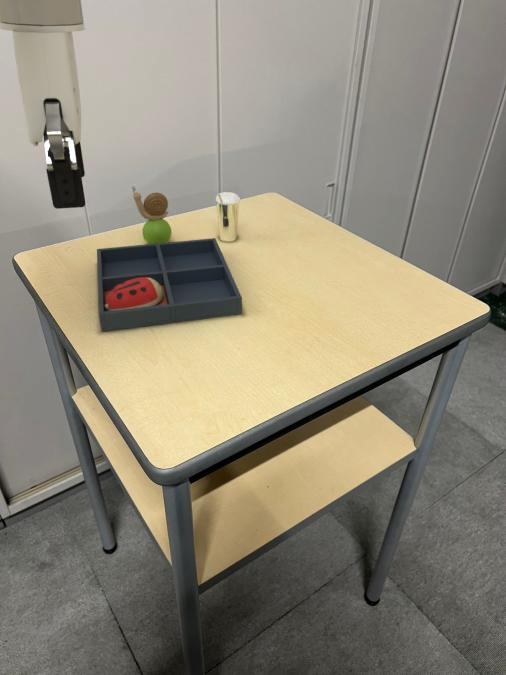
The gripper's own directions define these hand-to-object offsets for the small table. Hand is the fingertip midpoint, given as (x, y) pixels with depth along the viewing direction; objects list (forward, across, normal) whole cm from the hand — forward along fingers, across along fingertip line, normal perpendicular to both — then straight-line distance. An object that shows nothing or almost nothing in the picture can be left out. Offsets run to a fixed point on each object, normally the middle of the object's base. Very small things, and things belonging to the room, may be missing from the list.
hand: (70, 190), depth 58 cm
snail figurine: (+23, -33, +12) cm, 42 cm away
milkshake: (+23, -33, +26) cm, 47 cm away
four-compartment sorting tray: (+23, -17, +11) cm, 31 cm away
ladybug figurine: (+23, -12, +6) cm, 26 cm away
